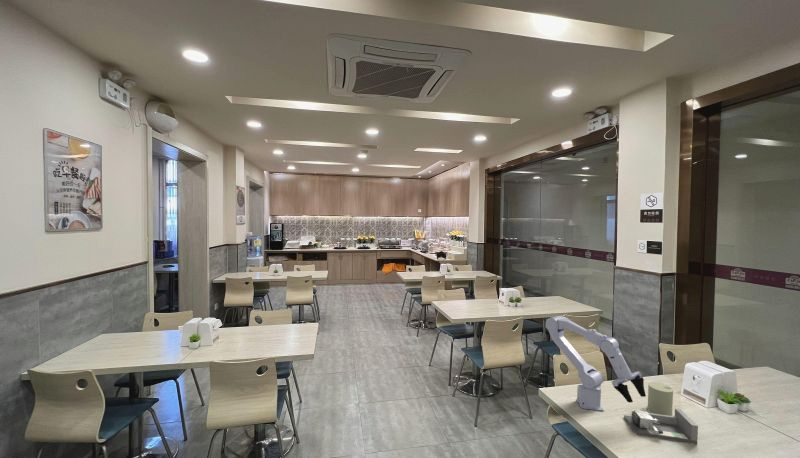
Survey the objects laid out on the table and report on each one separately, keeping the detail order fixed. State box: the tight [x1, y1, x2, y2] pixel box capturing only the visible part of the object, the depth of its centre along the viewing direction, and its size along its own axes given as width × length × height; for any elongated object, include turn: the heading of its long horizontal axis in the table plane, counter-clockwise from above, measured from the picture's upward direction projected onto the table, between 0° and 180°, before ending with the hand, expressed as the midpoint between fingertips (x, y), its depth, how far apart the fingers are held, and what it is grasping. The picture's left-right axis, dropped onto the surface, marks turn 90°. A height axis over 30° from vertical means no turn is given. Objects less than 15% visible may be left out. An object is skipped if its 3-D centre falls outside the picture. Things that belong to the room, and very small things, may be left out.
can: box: [646, 381, 674, 416], centre depth 153 cm, size 9×9×12 cm
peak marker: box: [656, 426, 663, 434], centre depth 135 cm, size 1×3×1 cm, turn 166°
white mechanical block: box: [631, 409, 660, 433], centre depth 138 cm, size 9×10×4 cm
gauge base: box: [623, 408, 699, 445], centre depth 139 cm, size 21×12×7 cm, turn 76°
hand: (637, 399), depth 142 cm, fingers open, 7 cm apart
